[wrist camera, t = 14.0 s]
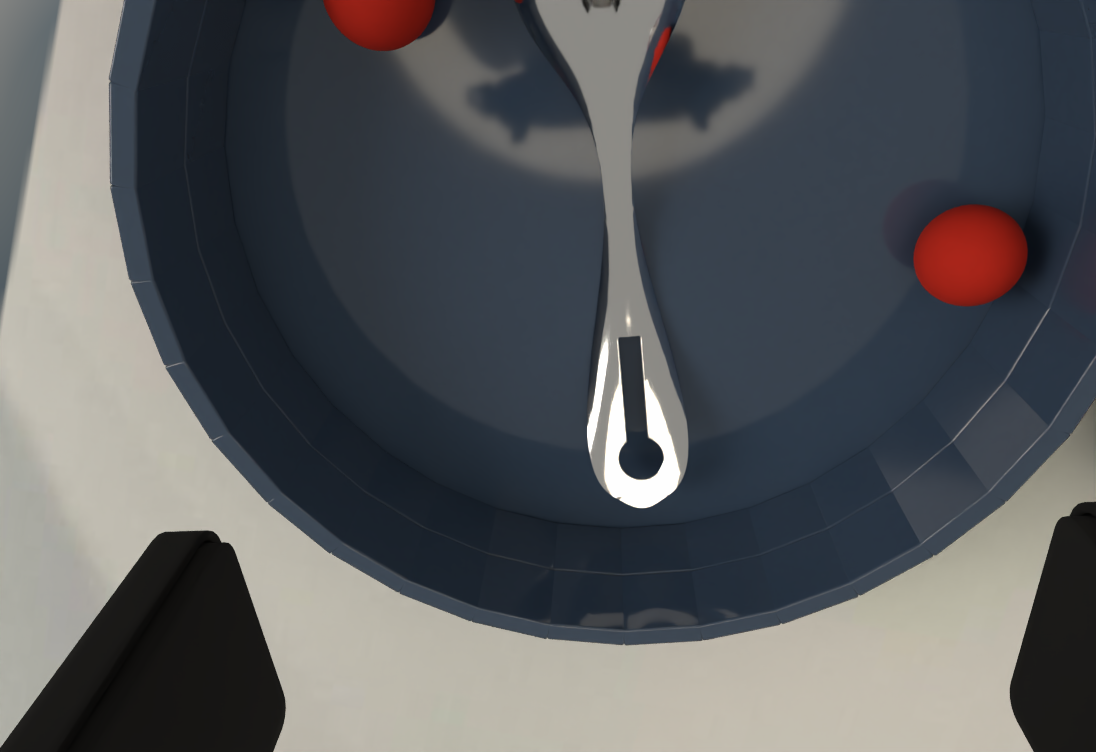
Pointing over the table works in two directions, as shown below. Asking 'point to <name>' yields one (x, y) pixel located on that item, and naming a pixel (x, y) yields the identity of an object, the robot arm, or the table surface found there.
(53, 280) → the table surface
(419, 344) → the bowl
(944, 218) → the tomato
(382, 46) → the tomato
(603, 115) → the metal spoon
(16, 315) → the table surface
